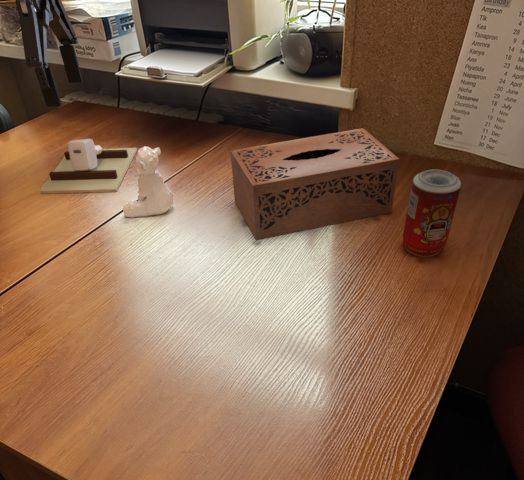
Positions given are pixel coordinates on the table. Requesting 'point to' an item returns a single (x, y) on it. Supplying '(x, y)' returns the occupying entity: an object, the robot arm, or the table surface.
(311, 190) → the tissue box cover
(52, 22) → the robot arm
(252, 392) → the table surface
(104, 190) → the slot mat
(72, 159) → the power adapter
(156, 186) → the sitting furry creature
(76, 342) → the table surface
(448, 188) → the red snack canister
